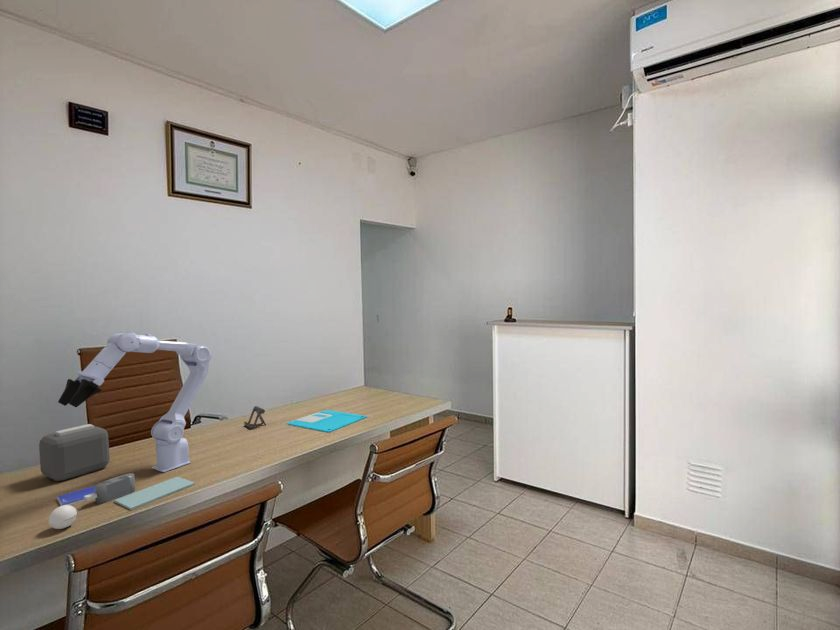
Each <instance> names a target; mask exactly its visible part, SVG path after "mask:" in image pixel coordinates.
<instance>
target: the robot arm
mask: <svg viewBox="0 0 840 630" xmlns="http://www.w3.org/2000/svg"><path fill="white" fill-rule="evenodd" d="M156 351H170V352H176V354H177V356H179V357H180V359H181V360H182V362H183V363H184V364H185V365H186V367H188V371H189V374H188V376H187V378H186V380H185V382H183V385H182V386H181V389H180V391H179V392H178V393H177V396H176V398H175V399H174V401H173V403H172V405H171V406H170V409H169V410H168V411H167V413H165V414H163V415H162V416H161V417H160V419H159V420H158V421H156V423H155V424H153V426H152V428H151V431H150V434H151V436H152V438H153V439H155V451H156V454H155V455H156V465H154V466H153V465H152V466H151V469H153V470H156V471H158V472H161V473H166V472H169V471H171V470H174V469H178V468H180V467H183V466H187V465H188V464H191V461H190V449H189V443H188V440H187V439H186V438H185V437H183V435H184V431H185V427H186V425H187V422H186V420H185V416H186V414H187V413H188V411H189V409H190V407H191V405H192V404H193V401H194V400H195V398H196V396H197V394H198V393H199V390H200V389H201V386H202V384H203V383H204V381H205V379H206V378H207V375H208V373H209V368H210V367H209V366H210V364H209V363H210V361H211V359H212V357H213V356H212V353H211V351H210V349H209V347H208V346H205V345H199V344H196V343H191V342H184V341H170V340H159V339H158V338H157V337H156V336H154V335H152V333H145V335H142V334H136V333H135V332H130V333H127V332H126V333H124V332H123V333H121V332H120V333H119V332H118V333H114V334H112V335H111V336H108V338H107V341H106V345H105V346H104V347H103V348H102V349H101V351H99V352H98V353H97V354H96V356H95V357H94V358H93V359H92V360H91V362H90V363H89V364H87V366H86V367H85V368H84V369H83V370H76V372H75V374H77V376H76V377H74V379H71V378H68V379H66V380H67V381H66V384H65V388H64V391H63V392H62V394H61V396H60V397H59V399H58V401H57V403H59V404H61V405H62V406H65V407H66V406H67V405H70V406H72V407H74V408H78V407H79V406H81V405H82V404H83V403H84V402H86V401H88V399H89V398H90V397H92V396H94V395H96V394H97V393H100V392H102V389H101V388H100V386H101V385H103V383H104V382H105V378H106V377H108V375H109V373H110V372H111V371H112V370H113V369H114V368H115V367H116V366H117V364H118V363H119V362H120V361H121V359H122V358H123V357H124V356H125V355H126V353H144V354H145V353H146V354H153V353H155V352H156Z"/></svg>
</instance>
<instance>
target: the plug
mask: <svg viewBox="0 0 840 630" xmlns="http://www.w3.org/2000/svg"><path fill="white" fill-rule="evenodd" d="M135 478H136V477H135V473H131V472H130V473H125V474H121V475H119V476H115V477H112V478H110V479H106V480H104V481H100V482H97V483H95V484H94V486H95V493H91V494H88V495H86V496H84V500H86V502H89V501H91V500H93V499H94V501H95V504H96V505H102V504H105V503H106V504H107V503H108V502H109V503H110V502H111V501H114V500H116V499H118V498H121V497H124V496H127V495H129V494H132V493H135V492H136V484H135V483H136V482H135V481H136V480H135Z"/></svg>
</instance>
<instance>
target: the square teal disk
mask: <svg viewBox="0 0 840 630" xmlns="http://www.w3.org/2000/svg"><path fill="white" fill-rule="evenodd" d="M367 418H368V416H367V415H364V414H363V415H362V414H356V413H351V412H350V413H349V412H343V411H336V410H330V409H329V410H328V409H327V410H320V411H318V412H315V413H312V414H309V415H306V416H303V417H300V418H297V419H295V420H291V421H288V422H286V424H288V426H291V425H292V427H296V426H297V427H298V428H302V429H308V430H313V431H317V432H324V433H332V432H335V431H338V430H340V429H342V428H344V427H348V426H350V425H352V424H355V423H357V422H359V421H361V420H365V419H367ZM286 424H285V425H286Z"/></svg>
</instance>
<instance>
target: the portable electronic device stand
mask: <svg viewBox="0 0 840 630" xmlns="http://www.w3.org/2000/svg"><path fill="white" fill-rule="evenodd" d="M255 413H256V417H255V420H254V422H253V424H251V422H252V419H253V416H254V414H255ZM265 413H266V411H265V409H264V408H261V407H260V406H257V405H255V406H254V407H253V409H252V410H251V414H250V416H249V419H248V420H247V421H243V425H244V426H245V427H246V428H248V429H250V430H254V429H255V428H256V427H257V426H256V425H257V422H258V419H259V421H260V422H261V424H262V423H263V424H264V425H265V426H267V424H266V422H265V420H264V418H263V416H262V415H264V414H265Z"/></svg>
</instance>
